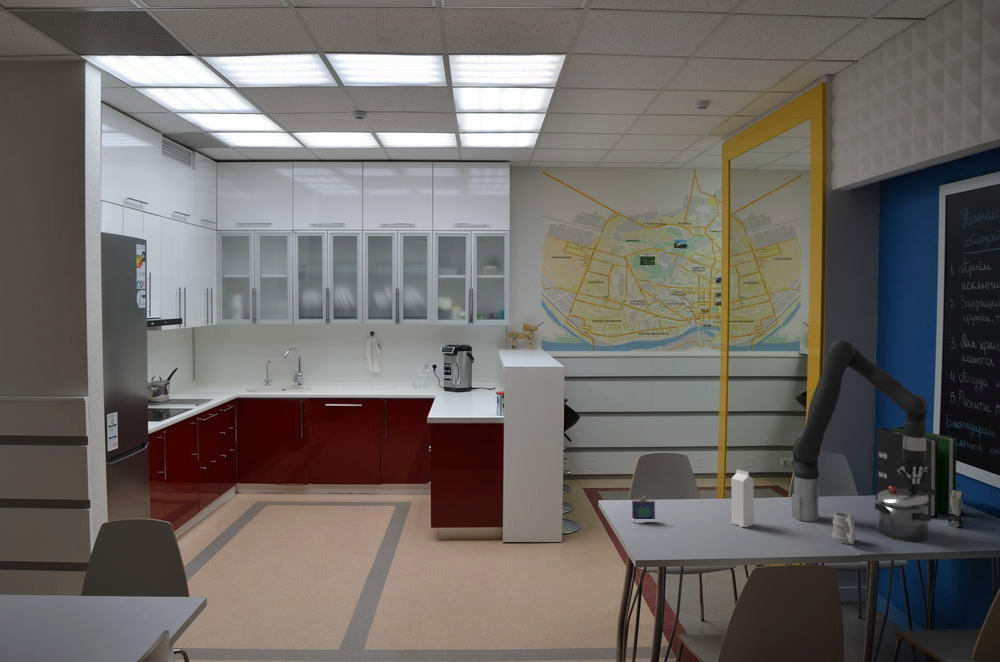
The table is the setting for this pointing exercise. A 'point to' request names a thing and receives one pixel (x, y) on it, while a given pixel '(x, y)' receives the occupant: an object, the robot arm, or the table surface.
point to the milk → (742, 499)
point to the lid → (904, 497)
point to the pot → (904, 522)
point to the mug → (843, 528)
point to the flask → (643, 509)
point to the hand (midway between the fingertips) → (913, 493)
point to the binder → (937, 460)
